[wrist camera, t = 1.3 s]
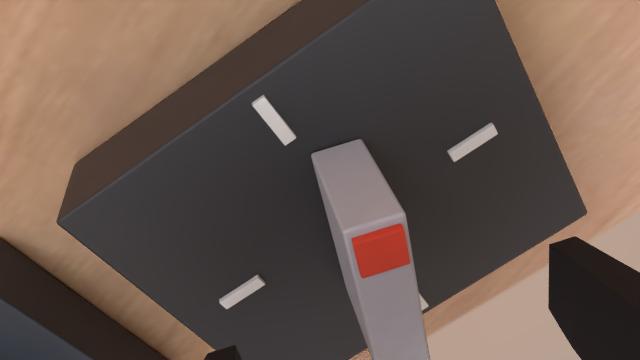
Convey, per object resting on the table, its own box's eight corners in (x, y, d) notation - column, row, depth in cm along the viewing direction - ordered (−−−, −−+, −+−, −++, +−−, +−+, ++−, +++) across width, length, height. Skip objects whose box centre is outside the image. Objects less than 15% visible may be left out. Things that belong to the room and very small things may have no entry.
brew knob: (389, 274, 17) (435, 371, 14) (346, 288, 17) (382, 388, 14) (361, 136, 15) (410, 219, 12) (309, 152, 15) (345, 239, 11)
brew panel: (268, 337, 22) (280, 406, 19) (72, 164, 17) (53, 226, 14) (539, 167, 20) (592, 216, 18) (418, -86, 15) (469, -69, 12)
